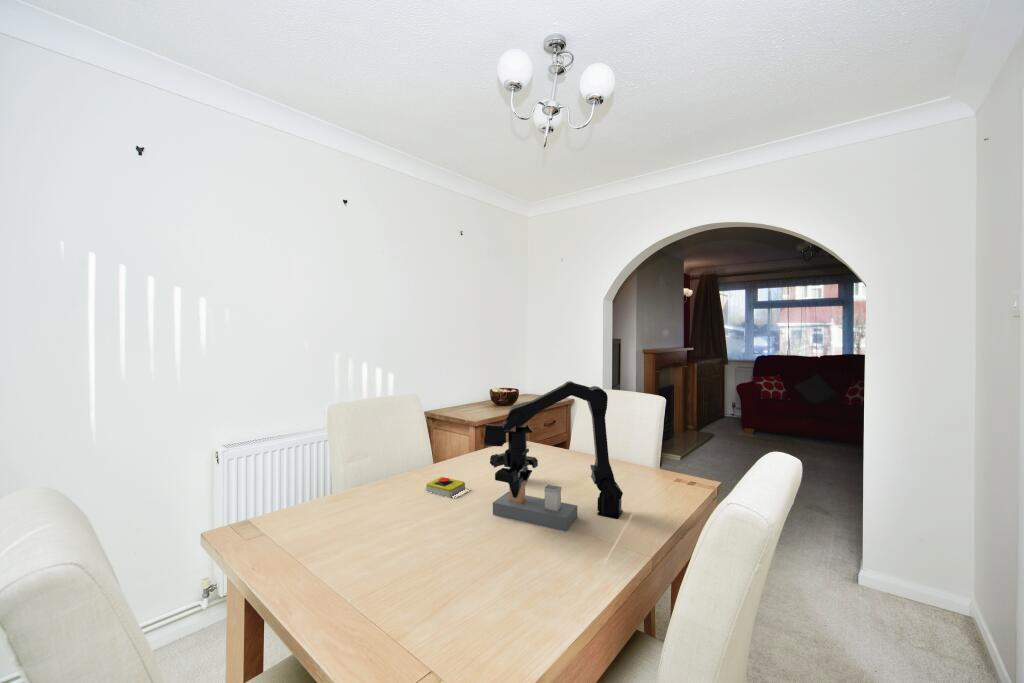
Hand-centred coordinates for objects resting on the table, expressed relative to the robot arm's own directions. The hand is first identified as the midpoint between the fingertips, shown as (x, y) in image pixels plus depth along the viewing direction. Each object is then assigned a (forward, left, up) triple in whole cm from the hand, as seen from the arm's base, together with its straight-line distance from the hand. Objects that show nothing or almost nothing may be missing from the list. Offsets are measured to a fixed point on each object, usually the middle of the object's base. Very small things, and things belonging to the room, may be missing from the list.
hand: (517, 495), depth 137 cm
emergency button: (+31, -5, -6) cm, 32 cm away
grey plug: (-12, 0, -5) cm, 13 cm away
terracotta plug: (0, 0, -5) cm, 5 cm away
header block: (-6, 0, -6) cm, 8 cm away
